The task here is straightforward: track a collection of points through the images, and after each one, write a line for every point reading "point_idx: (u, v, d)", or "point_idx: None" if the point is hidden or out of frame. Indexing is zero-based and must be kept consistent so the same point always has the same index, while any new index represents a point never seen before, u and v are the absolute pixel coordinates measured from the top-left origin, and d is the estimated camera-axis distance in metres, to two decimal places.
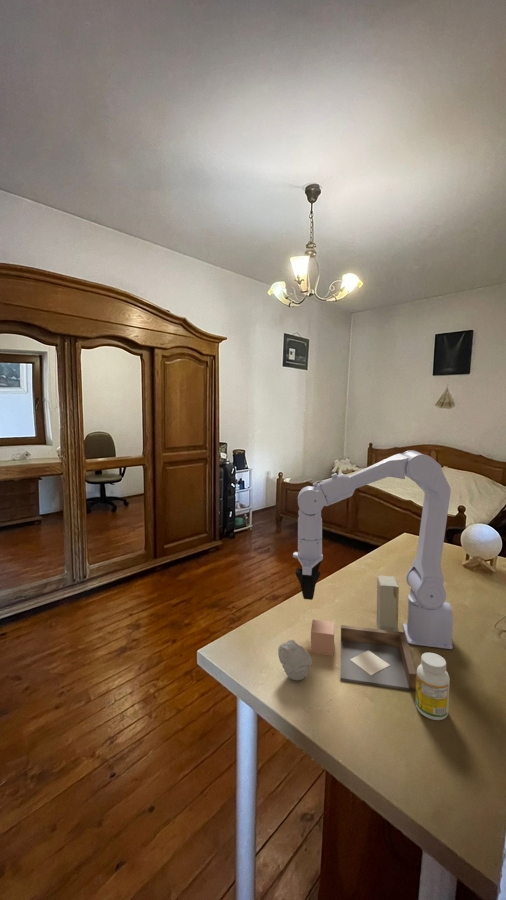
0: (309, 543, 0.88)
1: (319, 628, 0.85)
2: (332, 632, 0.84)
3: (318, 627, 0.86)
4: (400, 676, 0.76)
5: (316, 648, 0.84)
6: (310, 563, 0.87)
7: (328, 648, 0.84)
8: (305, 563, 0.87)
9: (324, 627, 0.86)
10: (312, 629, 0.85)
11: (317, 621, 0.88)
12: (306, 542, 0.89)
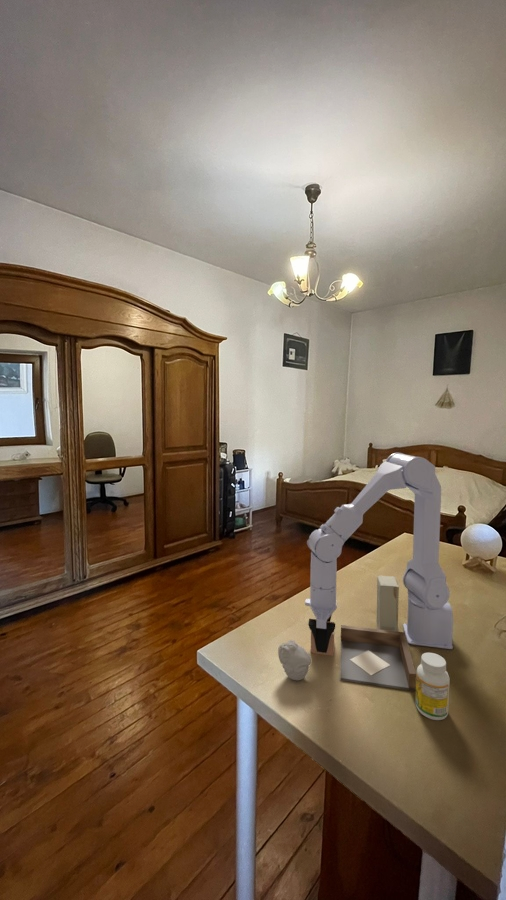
0: (322, 592, 0.82)
1: None
2: None
3: None
4: (400, 676, 0.76)
5: None
6: (325, 614, 0.81)
7: (328, 648, 0.84)
8: (319, 614, 0.81)
9: None
10: None
11: None
12: (320, 591, 0.82)
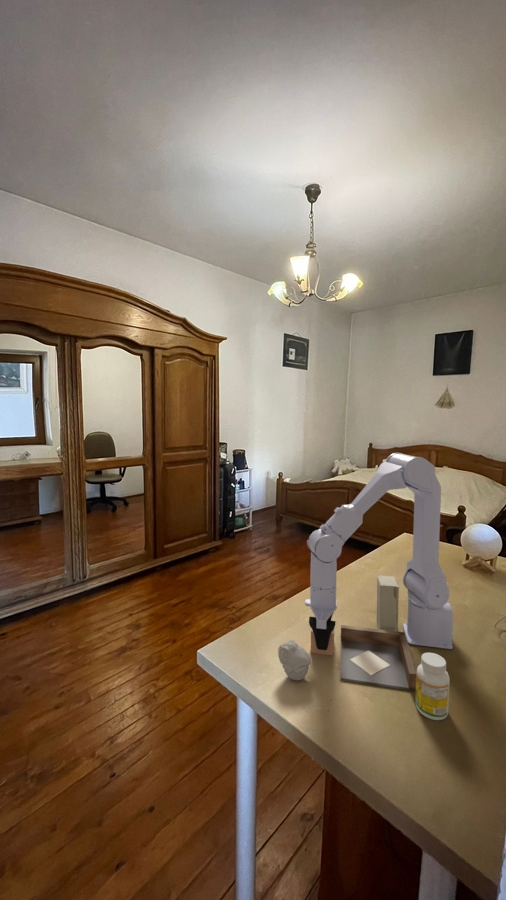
0: (322, 592, 0.82)
1: None
2: (332, 632, 0.84)
3: None
4: (400, 676, 0.76)
5: (316, 648, 0.84)
6: (325, 615, 0.81)
7: (328, 648, 0.84)
8: (319, 614, 0.81)
9: None
10: None
11: None
12: (320, 591, 0.82)
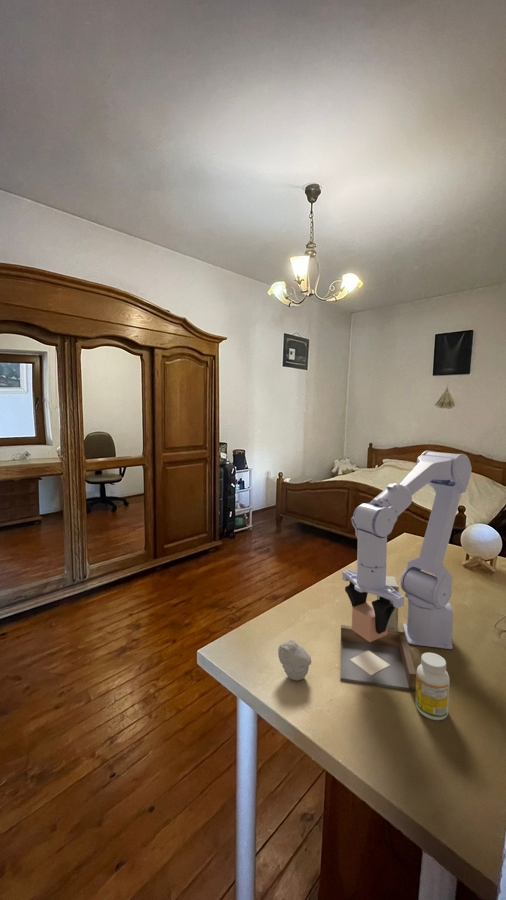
0: (382, 570, 0.76)
1: (371, 612, 0.78)
2: None
3: (368, 612, 0.78)
4: (400, 676, 0.76)
5: (374, 634, 0.77)
6: (392, 592, 0.75)
7: None
8: (388, 594, 0.74)
9: (371, 609, 0.79)
10: (367, 616, 0.77)
11: (358, 607, 0.80)
12: (380, 569, 0.76)
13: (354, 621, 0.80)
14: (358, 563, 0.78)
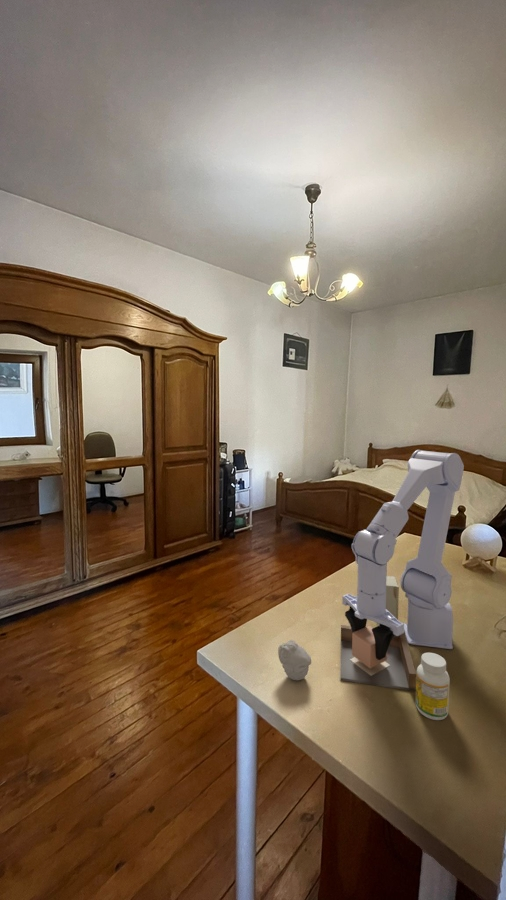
0: (382, 597, 0.76)
1: (371, 638, 0.78)
2: None
3: (368, 638, 0.79)
4: (400, 676, 0.76)
5: (374, 661, 0.77)
6: (392, 619, 0.75)
7: None
8: (388, 621, 0.75)
9: (371, 634, 0.80)
10: (368, 642, 0.77)
11: (358, 632, 0.81)
12: (380, 596, 0.76)
13: (354, 646, 0.80)
14: (358, 589, 0.78)
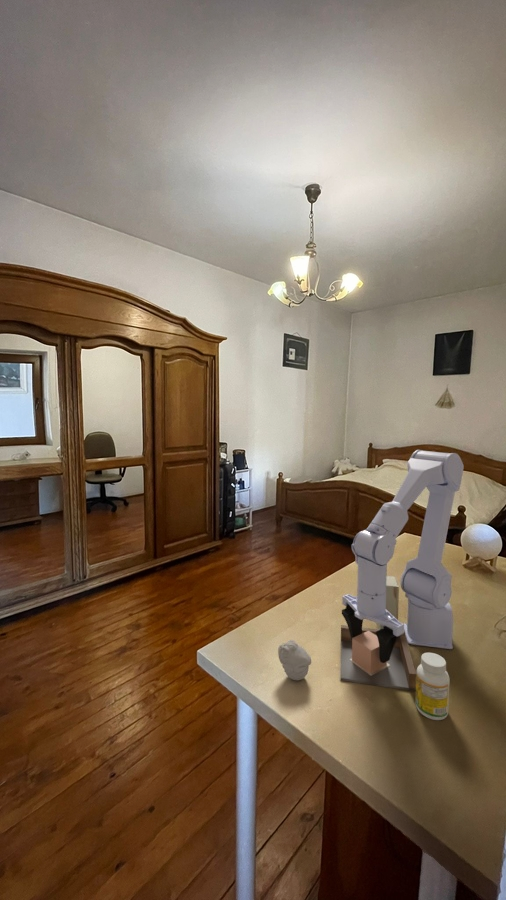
0: (382, 597, 0.76)
1: (371, 643, 0.79)
2: None
3: (368, 643, 0.79)
4: (400, 676, 0.76)
5: (374, 666, 0.77)
6: (392, 619, 0.75)
7: None
8: (388, 622, 0.75)
9: (371, 639, 0.80)
10: (368, 647, 0.77)
11: (358, 637, 0.81)
12: (380, 597, 0.76)
13: (354, 652, 0.80)
14: (358, 590, 0.78)
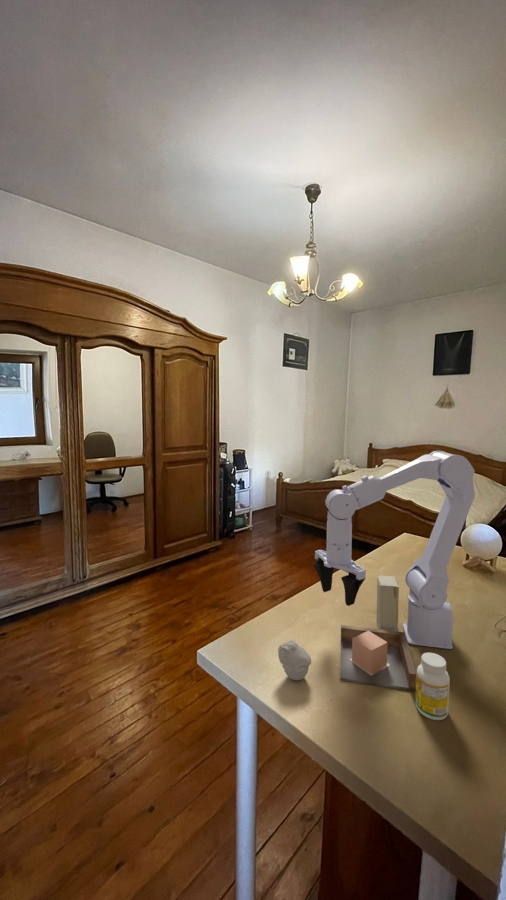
0: (348, 548, 0.86)
1: (371, 643, 0.79)
2: (383, 641, 0.79)
3: (368, 643, 0.79)
4: (400, 676, 0.76)
5: (374, 666, 0.77)
6: (356, 567, 0.86)
7: (383, 659, 0.79)
8: (352, 568, 0.85)
9: (371, 639, 0.80)
10: (368, 647, 0.77)
11: (358, 637, 0.81)
12: (346, 547, 0.86)
13: (354, 652, 0.80)
14: (327, 542, 0.88)
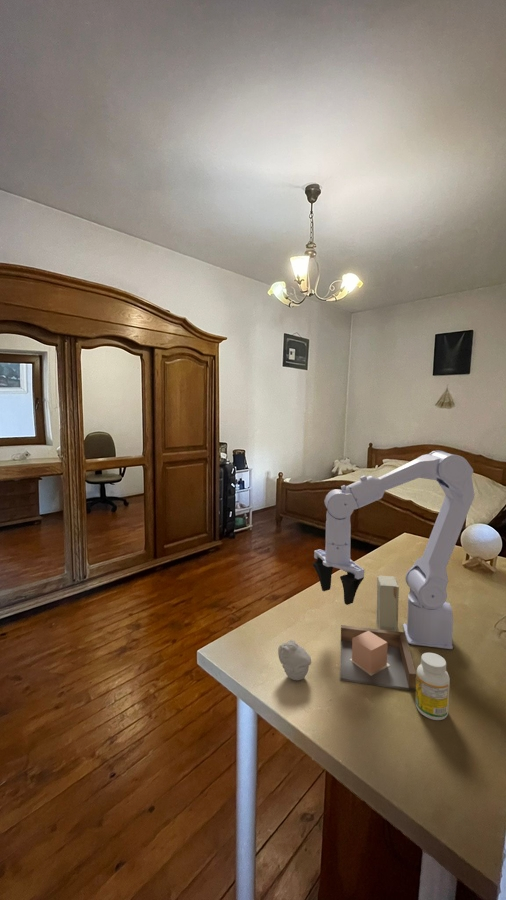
0: (346, 547, 0.87)
1: (371, 643, 0.79)
2: (383, 641, 0.79)
3: (368, 643, 0.79)
4: (400, 676, 0.76)
5: (374, 666, 0.77)
6: (354, 566, 0.86)
7: (383, 659, 0.79)
8: (351, 568, 0.85)
9: (371, 639, 0.80)
10: (368, 647, 0.77)
11: (358, 637, 0.81)
12: (344, 546, 0.87)
13: (354, 652, 0.80)
14: (326, 542, 0.89)
